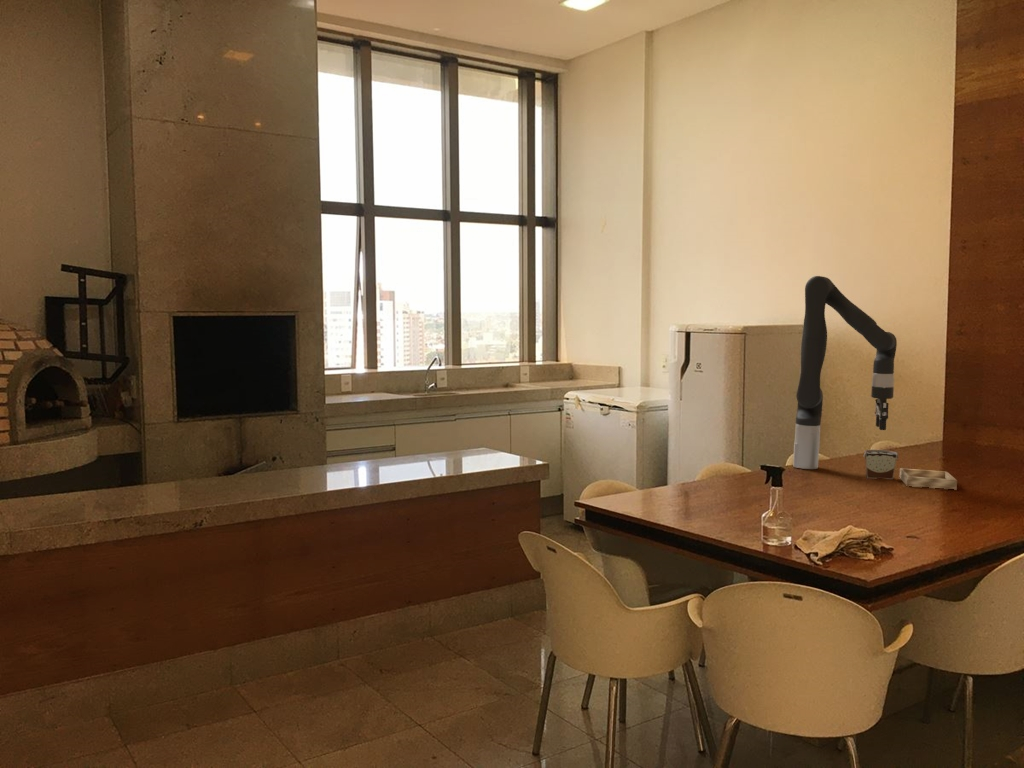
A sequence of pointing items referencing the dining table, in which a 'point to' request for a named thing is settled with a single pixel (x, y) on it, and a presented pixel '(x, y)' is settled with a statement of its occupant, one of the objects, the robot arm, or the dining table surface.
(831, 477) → the dining table surface
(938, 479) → the whitewashed wooden tray
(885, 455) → the food container
